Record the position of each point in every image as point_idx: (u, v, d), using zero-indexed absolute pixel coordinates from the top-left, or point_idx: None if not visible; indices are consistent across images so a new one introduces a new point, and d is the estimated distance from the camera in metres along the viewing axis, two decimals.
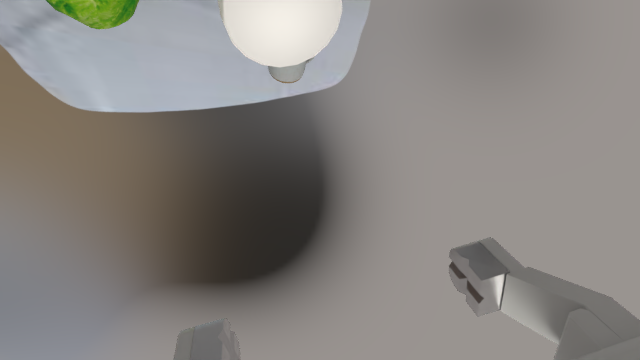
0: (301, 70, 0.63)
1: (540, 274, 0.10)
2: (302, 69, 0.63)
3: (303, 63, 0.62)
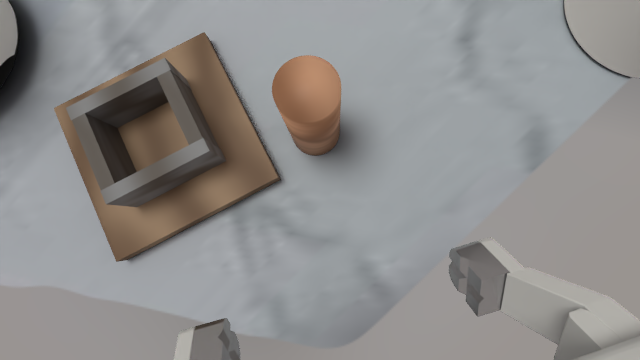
0: None
1: (540, 274, 0.10)
2: None
3: None
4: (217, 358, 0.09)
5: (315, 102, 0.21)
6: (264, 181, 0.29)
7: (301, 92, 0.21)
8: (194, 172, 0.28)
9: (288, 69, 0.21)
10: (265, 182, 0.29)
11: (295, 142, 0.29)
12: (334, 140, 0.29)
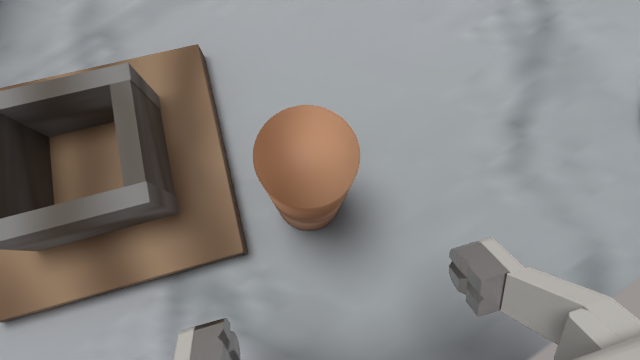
0: None
1: (540, 274, 0.10)
2: None
3: None
4: (217, 358, 0.09)
5: (315, 178, 0.13)
6: (222, 254, 0.21)
7: (297, 158, 0.14)
8: (128, 221, 0.20)
9: (285, 120, 0.14)
10: (224, 255, 0.21)
11: None
12: (330, 219, 0.21)
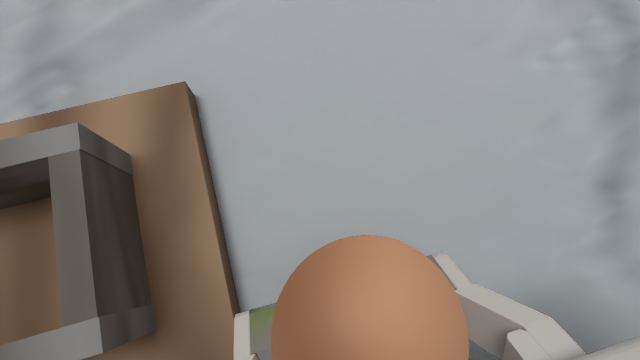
0: None
1: (486, 290, 0.10)
2: None
3: None
4: None
5: None
6: None
7: (353, 347, 0.07)
8: None
9: (328, 267, 0.08)
10: None
11: None
12: None
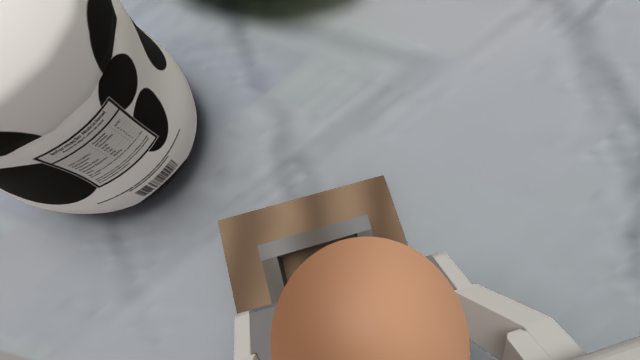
0: None
1: (486, 291, 0.10)
2: None
3: None
4: None
5: None
6: None
7: (353, 348, 0.07)
8: None
9: (328, 268, 0.08)
10: None
11: None
12: None
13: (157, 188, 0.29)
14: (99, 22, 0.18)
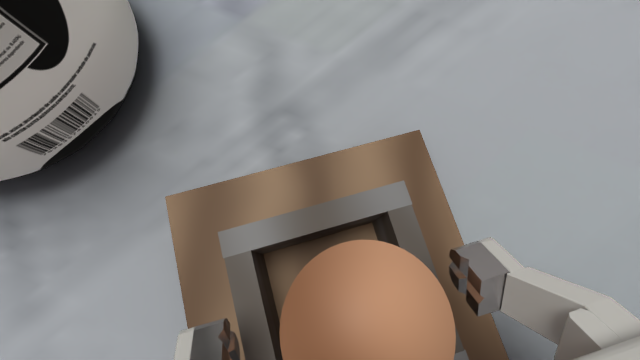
0: None
1: (540, 274, 0.10)
2: None
3: None
4: (217, 358, 0.09)
5: None
6: None
7: (352, 339, 0.08)
8: None
9: (331, 268, 0.09)
10: None
11: None
12: None
13: (67, 144, 0.18)
14: None
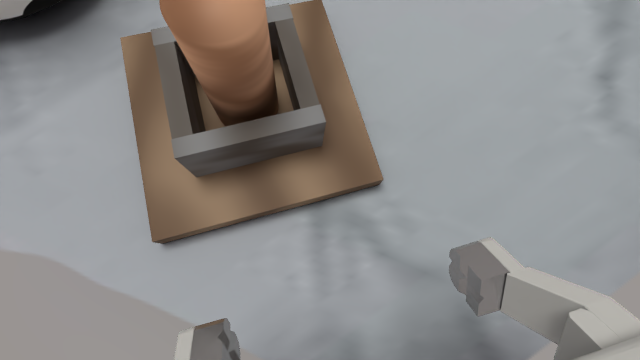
0: None
1: (540, 274, 0.10)
2: None
3: None
4: (217, 358, 0.09)
5: (219, 19, 0.14)
6: (365, 181, 0.23)
7: (202, 2, 0.14)
8: (285, 148, 0.22)
9: None
10: (366, 182, 0.23)
11: (213, 107, 0.22)
12: (264, 115, 0.22)
13: None
14: None
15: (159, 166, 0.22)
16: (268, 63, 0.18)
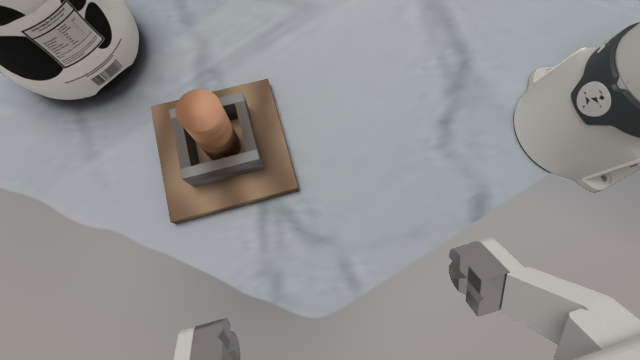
0: None
1: (540, 273, 0.10)
2: None
3: None
4: (217, 358, 0.09)
5: (201, 119, 0.32)
6: (287, 188, 0.41)
7: (194, 111, 0.32)
8: (242, 171, 0.40)
9: (190, 95, 0.33)
10: (288, 189, 0.41)
11: None
12: (230, 152, 0.40)
13: (108, 82, 0.42)
14: None
15: (173, 181, 0.41)
16: (227, 130, 0.36)
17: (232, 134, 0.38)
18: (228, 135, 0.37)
